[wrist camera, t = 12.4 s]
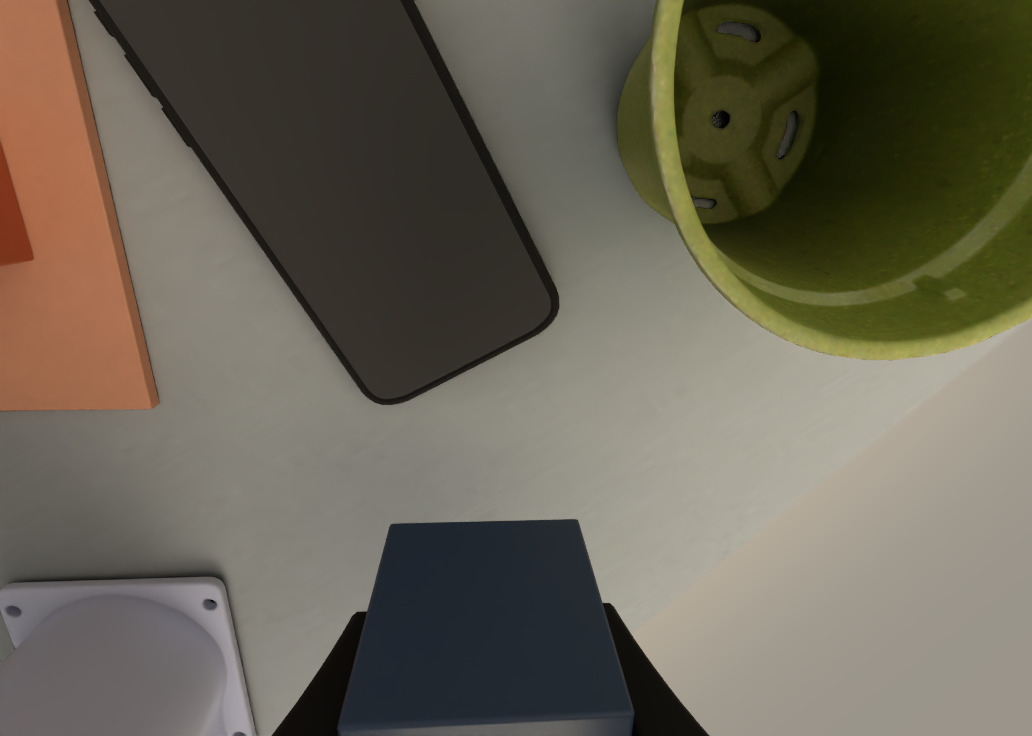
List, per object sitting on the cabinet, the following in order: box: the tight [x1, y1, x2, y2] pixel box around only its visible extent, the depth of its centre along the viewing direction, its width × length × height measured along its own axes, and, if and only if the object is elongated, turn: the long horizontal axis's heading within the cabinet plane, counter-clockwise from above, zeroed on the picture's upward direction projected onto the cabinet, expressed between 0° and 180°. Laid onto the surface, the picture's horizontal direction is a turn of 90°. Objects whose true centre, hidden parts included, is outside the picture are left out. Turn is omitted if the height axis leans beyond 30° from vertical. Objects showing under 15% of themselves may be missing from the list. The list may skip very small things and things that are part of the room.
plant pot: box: [617, 0, 1032, 360], centre depth 12 cm, size 9×9×9 cm
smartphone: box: [89, 0, 559, 405], centre depth 15 cm, size 7×1×15 cm
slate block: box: [337, 519, 635, 736], centre depth 11 cm, size 4×4×5 cm
